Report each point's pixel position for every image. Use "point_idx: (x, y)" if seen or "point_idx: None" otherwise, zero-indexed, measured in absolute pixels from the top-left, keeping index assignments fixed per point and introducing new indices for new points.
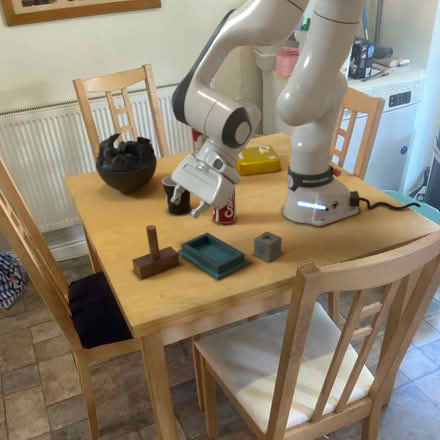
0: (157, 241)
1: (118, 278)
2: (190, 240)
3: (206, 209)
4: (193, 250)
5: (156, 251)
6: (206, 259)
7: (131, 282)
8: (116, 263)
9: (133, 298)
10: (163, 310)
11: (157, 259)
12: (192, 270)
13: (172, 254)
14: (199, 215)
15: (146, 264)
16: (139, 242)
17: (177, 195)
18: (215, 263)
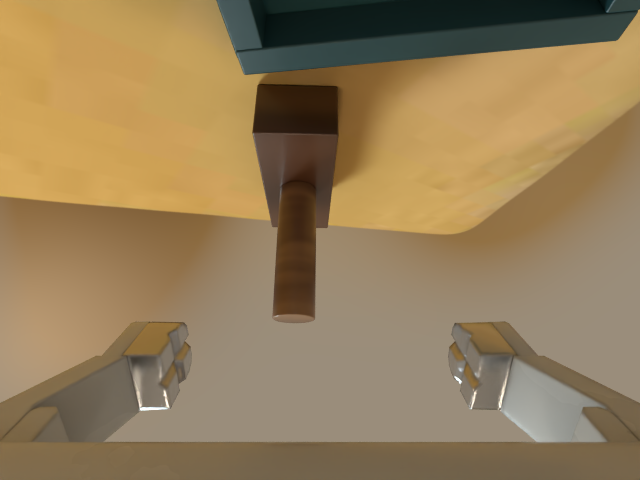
0: (309, 248)
1: None
2: (225, 4)
3: (628, 409)
4: (354, 55)
5: (315, 218)
6: (496, 48)
7: None
8: (208, 202)
9: (387, 219)
10: (489, 201)
11: (322, 193)
12: (418, 66)
13: (327, 152)
14: (525, 345)
15: (326, 216)
16: (71, 126)
17: (117, 400)
18: (582, 30)
